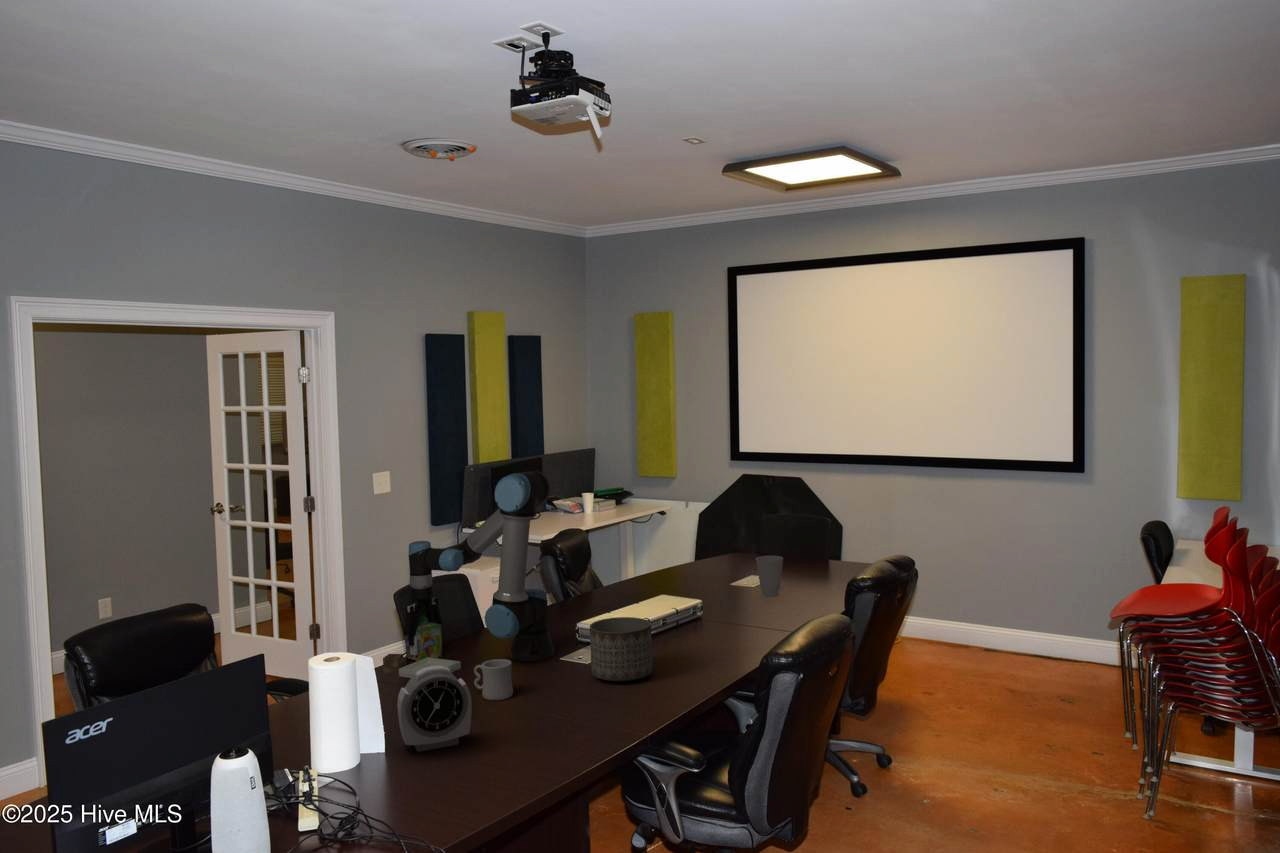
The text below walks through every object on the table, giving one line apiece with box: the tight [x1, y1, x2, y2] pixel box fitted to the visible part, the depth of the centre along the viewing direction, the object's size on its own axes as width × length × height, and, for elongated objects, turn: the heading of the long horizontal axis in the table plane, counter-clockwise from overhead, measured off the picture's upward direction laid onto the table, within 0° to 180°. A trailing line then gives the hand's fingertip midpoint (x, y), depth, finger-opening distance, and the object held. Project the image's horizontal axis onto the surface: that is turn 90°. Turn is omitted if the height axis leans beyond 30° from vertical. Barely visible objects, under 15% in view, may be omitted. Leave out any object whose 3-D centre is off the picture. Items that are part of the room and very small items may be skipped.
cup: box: [755, 555, 784, 598], centre depth 396 cm, size 12×12×16 cm
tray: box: [398, 657, 462, 679], centre depth 301 cm, size 14×14×2 cm
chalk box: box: [404, 613, 443, 662], centre depth 318 cm, size 9×9×15 cm
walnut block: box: [382, 653, 405, 674], centre depth 305 cm, size 5×5×5 cm
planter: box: [589, 616, 654, 683], centre depth 289 cm, size 19×19×16 cm
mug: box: [473, 658, 514, 701], centre depth 275 cm, size 12×9×10 cm
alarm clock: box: [396, 665, 472, 753], centre depth 238 cm, size 18×8×20 cm, turn 114°
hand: (424, 650), depth 318 cm, fingers closed on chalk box, 9 cm apart
